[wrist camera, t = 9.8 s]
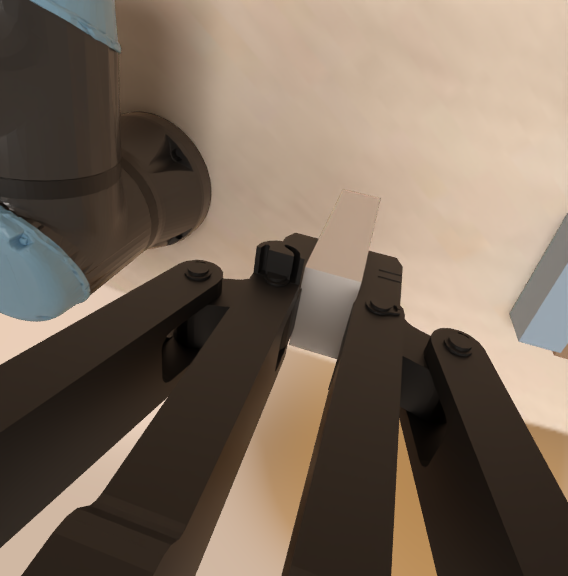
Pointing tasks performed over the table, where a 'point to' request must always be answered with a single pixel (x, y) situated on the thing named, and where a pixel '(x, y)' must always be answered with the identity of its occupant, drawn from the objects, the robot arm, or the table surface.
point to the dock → (562, 353)
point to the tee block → (546, 298)
